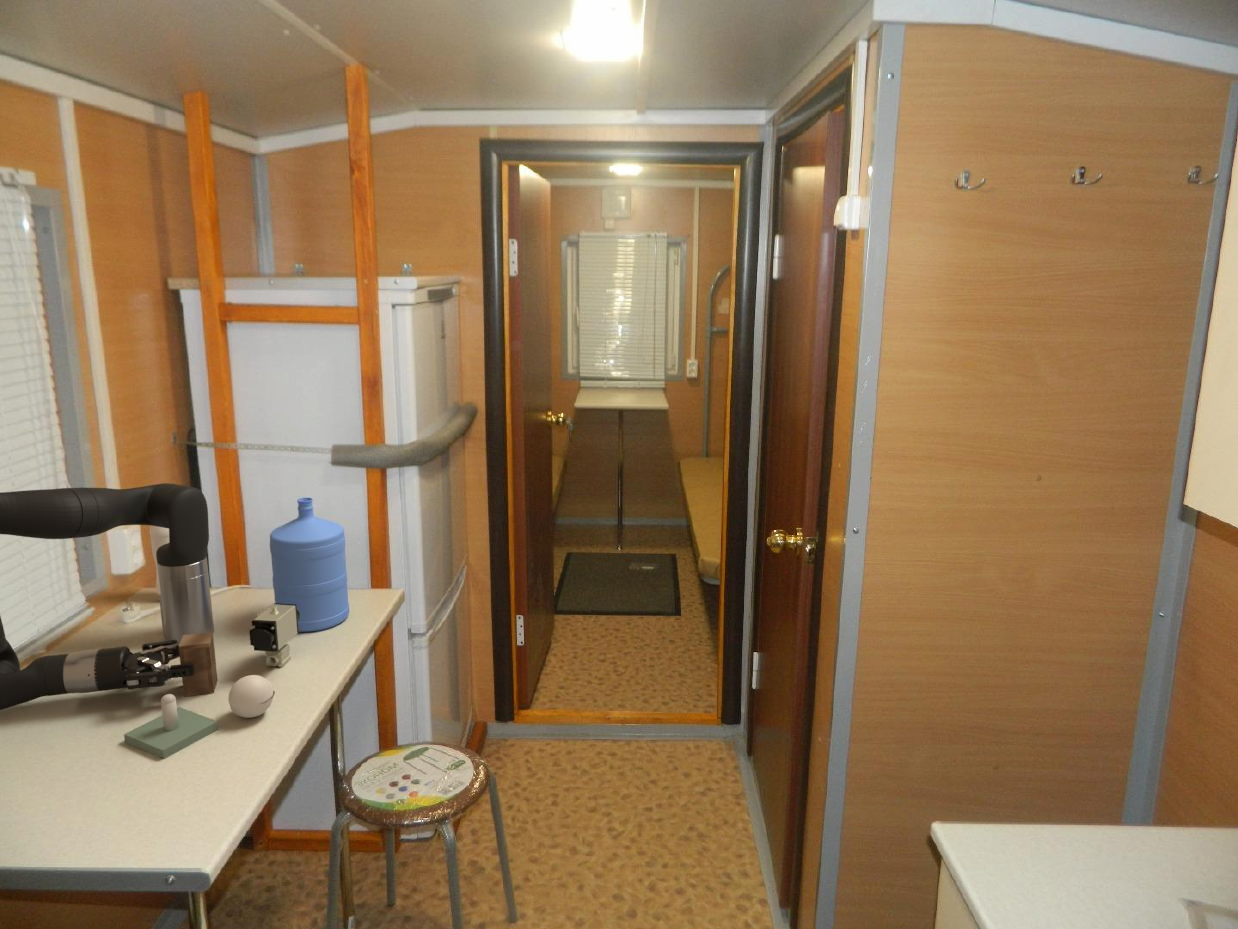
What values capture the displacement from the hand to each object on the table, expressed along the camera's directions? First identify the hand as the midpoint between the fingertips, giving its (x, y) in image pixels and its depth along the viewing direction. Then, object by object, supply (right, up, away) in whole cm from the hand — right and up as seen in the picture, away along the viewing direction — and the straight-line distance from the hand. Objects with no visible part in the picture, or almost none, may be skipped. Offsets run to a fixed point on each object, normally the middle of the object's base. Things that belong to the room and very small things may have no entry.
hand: (197, 658), depth 154 cm
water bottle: (-28, +4, +43) cm, 52 cm away
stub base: (+3, -10, -14) cm, 17 cm away
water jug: (+9, +1, +33) cm, 34 cm away
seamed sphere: (+14, -8, -6) cm, 17 cm away
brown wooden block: (0, -6, +1) cm, 6 cm away
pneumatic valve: (+10, -4, +12) cm, 16 cm away
